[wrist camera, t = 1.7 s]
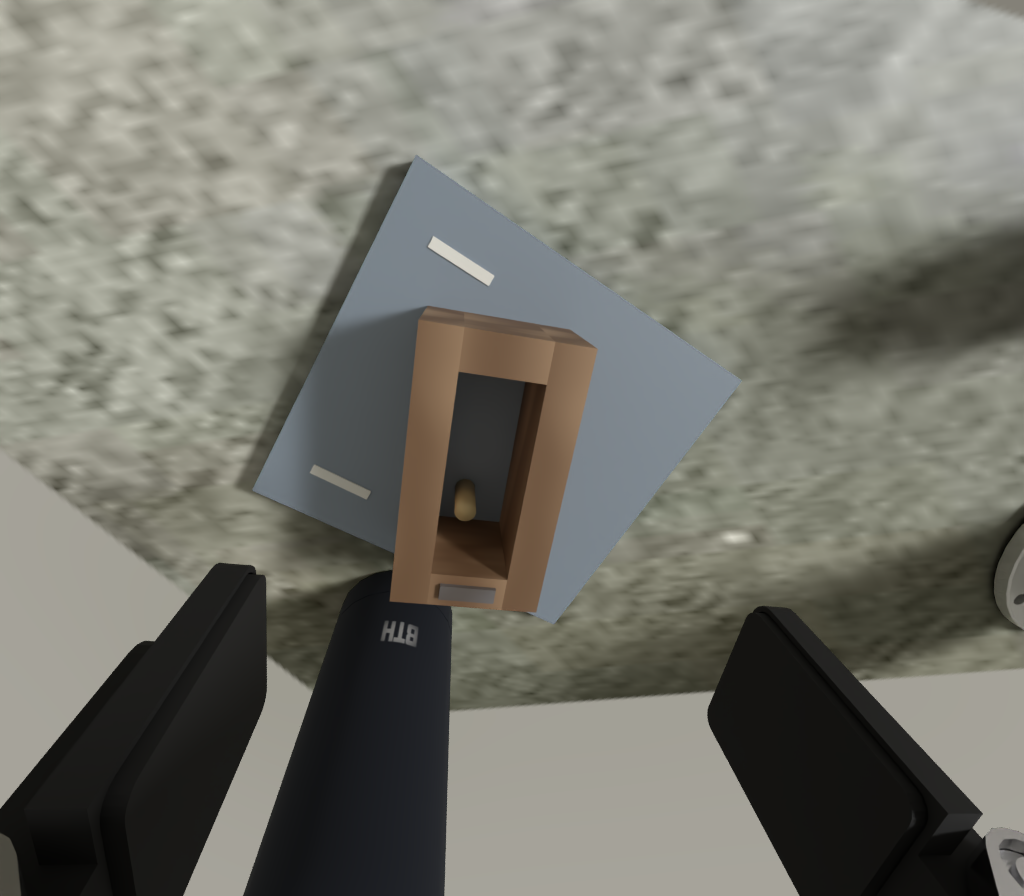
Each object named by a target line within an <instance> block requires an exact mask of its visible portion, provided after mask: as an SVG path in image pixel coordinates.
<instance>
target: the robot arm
mask: <svg viewBox="0 0 1024 896" xmlns="http://www.w3.org/2000/svg"><path fill="white" fill-rule="evenodd" d="M994 595H995V599H996V603H997V606H998V607H999V609H1000V611H1001V613H1002V614H1003V615H1004V616H1005V617H1006V618H1007V619H1008V620H1010V621H1011V622H1012V623H1014V624H1015V625H1017V626H1018V627H1020V628H1022V629H1023V630H1024V523H1023V524H1022V525H1021V527H1020V528H1019V529H1018V530H1017V531H1016V533H1015V534H1014V536H1013V537H1012V539H1011V540H1010V542H1009V543H1008V545H1007V546H1006V548H1005V550H1004V552H1003V554H1002V556H1001V558H1000V560H999V563H998V566H997V570H996V574H995V578H994ZM266 666H267V646H266V578H265V576H264V575H256V570H255V567H254V566H251V565H239V564H226V563H218V564H216V565H215V566H214V567H213V568H212V569H211V570H210V571H209V573H208V574H207V575H206V576H205V578H204V579H203V580H202V582H201V583H200V584H199V585H198V587H197V588H196V589H195V591H194V592H193V593H192V594H191V596H190V597H189V598H188V600H187V601H186V602H185V603H184V605H183V606H182V607H181V609H180V610H179V611H178V612H177V614H176V615H175V616H174V618H173V619H172V620H171V621H170V623H169V624H168V625H167V626H166V628H165V629H164V630H163V632H162V633H161V634H160V635H159V637H158V638H157V639H156V641H143V642H141V643H139V644H137V645H136V646H135V647H134V648H133V649H132V650H131V651H130V652H129V653H128V654H127V656H126V657H125V658H124V659H123V660H122V662H121V663H120V664H119V665H118V667H117V668H116V669H115V670H114V671H113V673H112V674H111V675H110V676H109V678H108V679H107V680H106V681H105V682H104V684H103V685H102V686H101V687H100V688H99V690H98V691H97V692H96V693H95V694H94V696H93V697H92V698H91V699H90V701H89V702H88V703H87V704H86V706H85V707H84V708H83V709H82V710H81V711H80V713H79V714H78V715H77V716H76V718H75V719H74V720H73V721H72V722H71V724H70V725H69V726H68V727H67V728H66V730H65V731H64V732H63V733H62V735H61V736H60V737H59V738H58V740H57V741H56V742H55V743H54V744H53V745H52V747H51V748H50V749H49V750H48V752H47V753H46V754H45V755H44V757H43V758H42V759H41V760H40V761H39V762H38V764H37V765H36V766H35V767H34V769H33V770H32V771H31V772H30V773H29V775H28V776H27V777H26V778H25V780H24V781H23V782H22V783H21V784H20V786H19V787H18V788H17V789H16V790H15V792H14V793H13V794H12V795H11V797H10V798H9V799H8V800H7V801H6V802H5V804H4V805H3V806H2V807H1V809H0V896H183V895H184V892H185V890H186V887H187V885H188V883H189V880H190V878H191V876H192V873H193V871H194V869H195V866H196V864H197V862H198V859H199V857H200V855H201V852H202V850H203V848H204V845H205V843H206V841H207V838H208V836H209V834H210V831H211V829H212V827H213V824H214V822H215V820H216V817H217V815H218V812H219V810H220V808H221V805H222V803H223V801H224V799H225V796H226V794H227V791H228V789H229V787H230V784H231V782H232V780H233V778H234V775H235V773H236V771H237V768H238V766H239V764H240V761H241V759H242V757H243V754H244V752H245V750H246V747H247V745H248V743H249V740H250V738H251V736H252V733H253V731H254V729H255V726H256V724H257V722H258V719H259V717H260V715H261V712H262V709H263V706H264V702H265V698H266V692H267V667H266ZM707 716H708V722H709V725H710V728H711V730H712V732H713V734H714V736H715V738H716V739H717V741H718V743H719V745H720V747H721V749H722V751H723V753H724V755H725V756H726V758H727V760H728V762H729V764H730V766H731V768H732V770H733V771H734V773H735V775H736V777H737V779H738V781H739V783H740V784H741V787H742V788H743V790H744V792H745V794H746V796H747V798H748V800H749V801H750V803H751V805H752V807H753V809H754V811H755V813H756V815H757V817H758V818H759V820H760V822H761V824H762V826H763V828H764V830H765V832H766V833H767V835H768V837H769V839H770V841H771V843H772V845H773V847H774V849H775V850H776V852H777V854H778V856H779V858H780V860H781V861H782V864H783V865H784V867H785V869H786V871H787V873H788V875H789V877H790V878H791V880H792V882H793V884H794V886H795V888H796V890H797V892H798V894H799V896H1024V834H1023V833H1021V832H1019V831H1015V830H1012V829H1008V828H1003V827H1001V828H992V829H991V830H990V831H989V832H988V833H987V834H986V835H985V836H984V838H983V839H982V838H981V837H980V836H979V835H978V834H977V833H976V831H975V830H974V829H973V828H972V827H973V826H974V825H975V823H976V822H977V821H978V819H979V818H980V817H981V815H982V814H983V813H982V812H981V811H980V810H979V809H978V808H977V807H976V806H975V805H974V804H973V803H972V802H971V801H970V799H969V798H968V797H967V796H966V795H965V794H964V793H963V792H962V791H961V790H960V789H959V788H958V787H957V786H956V785H955V784H954V782H953V781H952V780H951V779H950V778H949V777H948V776H947V775H946V774H945V773H944V772H943V771H942V770H941V768H940V767H938V765H937V764H935V762H934V761H933V760H932V759H931V758H930V757H929V756H928V755H927V754H926V752H925V751H924V750H923V749H922V748H921V747H920V746H919V745H918V744H917V743H916V742H915V741H914V740H913V739H912V738H911V736H909V734H908V733H907V732H906V731H905V730H904V729H903V728H902V727H901V726H900V725H899V724H898V723H897V721H896V720H895V719H894V718H893V717H892V716H891V715H890V714H889V713H888V712H887V711H886V710H885V709H884V708H883V707H882V706H881V705H880V703H879V702H878V701H877V700H876V699H875V698H874V697H873V696H872V695H871V694H870V693H869V692H868V691H867V689H866V688H865V687H864V686H863V685H862V684H861V683H860V682H859V681H858V680H857V679H856V678H855V677H854V676H853V675H852V673H851V672H850V671H849V670H848V669H847V668H846V667H845V666H844V665H843V664H842V663H841V662H840V661H839V660H838V658H837V657H836V656H835V655H834V654H833V653H832V652H831V651H830V650H829V649H828V648H827V647H826V646H825V645H824V644H823V642H822V641H821V640H820V639H819V638H818V637H817V636H816V635H815V634H814V633H813V632H812V631H811V630H810V629H809V628H808V626H807V625H806V624H805V623H804V622H803V621H802V620H801V619H800V618H799V617H798V616H797V615H796V614H795V613H794V612H793V611H792V610H791V609H788V608H782V607H769V606H759V607H757V608H756V609H755V610H754V611H753V613H750V614H749V615H748V616H747V618H746V620H745V622H744V624H743V627H742V629H741V631H740V634H739V636H738V638H737V641H736V643H735V646H734V648H733V650H732V653H731V655H730V657H729V660H728V662H727V664H726V667H725V669H724V672H723V674H722V676H721V679H720V681H719V683H718V686H717V688H716V690H715V693H714V695H713V698H712V700H711V703H710V705H709V707H708V715H707Z"/></svg>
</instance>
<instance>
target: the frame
mask: <svg viewBox="0 0 1024 896" xmlns="http://www.w3.org/2000/svg"><path fill="white" fill-rule="evenodd" d="M597 351H598V349H597V348H596V347H594V346H593V345H592V344H590V343H589V342H587V341H586V340H584V339H583V338H582V337H580V336H579V335H577V334H576V333H574V332H573V331H572V330H570V329H564V328H558V327H552V326H546V325H540V324H535V323H529V322H523V321H517V320H511V319H505V318H499V317H493V316H487V315H481V314H475V313H469V312H463V311H457V310H451V309H445V308H439V307H433V306H427V308H426V309H425V311H424V312H423V314H422V315H421V317H420V318H419V320H418V330H417V340H416V349H415V359H414V369H413V379H412V388H411V398H410V408H409V417H408V427H407V437H406V447H405V456H404V466H403V476H402V486H401V495H400V505H399V515H398V524H397V534H396V544H395V554H394V563H393V573H392V583H391V593H390V601H392V602H405V603H418V604H431V605H444V606H457V607H470V608H483V609H496V610H509V611H522V612H535V613H536V611H537V607H538V603H539V598H540V594H541V590H542V586H543V581H544V577H545V573H546V569H547V564H548V560H549V556H550V551H551V547H552V543H553V539H554V534H555V530H556V526H557V521H558V517H559V513H560V509H561V504H562V500H563V496H564V492H565V487H566V483H567V479H568V474H569V470H570V466H571V462H572V457H573V453H574V449H575V445H576V440H577V436H578V432H579V427H580V423H581V419H582V415H583V410H584V406H585V402H586V398H587V393H588V389H589V385H590V380H591V376H592V372H593V368H594V363H595V359H596V355H597ZM458 372H464V373H471V374H478V375H484V376H491V377H498V378H504V379H511V380H518V381H525V387H524V392H523V397H522V403H521V408H520V413H519V419H518V424H517V430H516V435H515V440H514V446H513V451H512V456H511V462H510V467H509V473H508V478H507V483H506V489H505V494H504V499H503V505H502V510H501V515H500V521H499V522H494V521H485V520H475V519H471V520H469V521H461V520H459V519H458V518H456V517H446V516H439V512H440V504H441V497H442V490H443V482H444V475H445V468H446V460H447V453H448V445H449V438H450V431H451V423H452V416H453V409H454V401H455V394H456V387H457V379H458Z"/></svg>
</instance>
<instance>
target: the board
mask: <svg viewBox="0 0 1024 896" xmlns="http://www.w3.org/2000/svg"><path fill="white" fill-rule="evenodd" d="M427 306H433V307H439V308H445V309H451V310H457V311H463V312H469V313H475V314H481V315H487V316H493V317H499V318H505V319H511V320H517V321H523V322H529V323H535V324H540V325H546V326H552V327H558V328H564V329H570V330H572V331H573V332H574V333H576V334H577V335H579V336H580V337H582V338H583V339H584V340H586V341H587V342H589V343H590V344H592V345H593V346H594V347H596V348H597V349H598V351H597V355H596V359H595V363H594V368H593V372H592V376H591V380H590V385H589V389H588V393H587V398H586V402H585V406H584V410H583V415H582V419H581V423H580V427H579V432H578V436H577V440H576V445H575V449H574V453H573V457H572V462H571V466H570V470H569V474H568V479H567V483H566V487H565V492H564V496H563V500H562V504H561V509H560V513H559V517H558V521H557V526H556V530H555V534H554V539H553V543H552V547H551V551H550V556H549V560H548V564H547V569H546V573H545V577H544V581H543V586H542V590H541V594H540V598H539V603H538V607H537V611H536V613H535V612H527V613H530V614H532V615H534V616H536V617H539V618H541V619H543V620H545V621H548V622H550V623H552V624H555V622H556V621H557V620H558V618H559V617H560V616H561V615H562V613H563V612H564V611H565V609H566V608H567V607H568V606H569V604H570V603H571V602H572V600H573V599H574V598H575V596H576V595H577V594H578V593H579V591H580V590H581V589H582V587H583V586H584V585H585V583H586V582H587V581H588V580H589V578H590V577H591V576H592V574H593V573H594V572H595V571H596V569H597V568H598V567H599V565H600V564H601V563H602V561H603V560H604V559H605V558H606V556H607V555H608V554H609V552H610V551H611V550H612V549H613V547H614V546H615V545H616V543H617V542H618V541H619V539H620V538H621V537H622V536H623V534H624V533H625V532H626V530H627V529H628V528H629V526H630V525H631V524H632V523H633V521H634V520H635V519H636V517H637V516H638V515H639V514H640V512H641V511H642V510H643V508H644V507H645V506H646V504H647V503H648V502H649V501H650V499H651V498H652V497H653V495H654V494H655V493H656V491H657V490H658V489H659V488H660V486H661V485H662V484H663V482H664V481H665V480H666V479H667V477H668V476H669V475H670V473H671V472H672V471H673V469H674V468H675V467H676V466H677V464H678V463H679V462H680V460H681V459H682V458H683V457H684V455H685V454H686V453H687V451H688V450H689V449H690V447H691V446H692V445H693V444H694V442H695V441H696V440H697V438H698V437H699V436H700V434H701V433H702V432H703V431H704V429H705V428H706V427H707V425H708V424H709V423H710V422H711V420H712V419H713V418H714V416H715V415H716V414H717V412H718V411H719V410H720V409H721V407H722V406H723V405H724V403H725V402H726V401H727V400H728V398H729V397H730V396H731V394H732V393H733V392H734V390H735V389H736V388H737V387H738V385H739V384H740V383H741V381H742V380H740V379H739V378H737V377H736V376H734V375H733V374H732V373H730V372H729V371H727V370H726V369H724V368H723V367H722V366H720V365H719V364H717V363H716V362H714V361H713V360H711V359H710V358H709V357H707V356H706V355H704V354H703V353H701V352H700V351H698V350H697V349H696V348H694V347H693V346H691V345H690V344H688V343H687V342H685V341H684V340H683V339H681V338H680V337H678V336H677V335H675V334H674V333H673V332H671V331H670V330H668V329H667V328H665V327H664V326H662V325H661V324H660V323H658V322H657V321H655V320H654V319H652V318H651V317H649V316H648V315H647V314H645V313H644V312H642V311H641V310H639V309H638V308H636V307H635V306H634V305H632V304H631V303H629V302H628V301H626V300H625V299H624V298H622V297H621V296H619V295H618V294H616V293H615V292H613V291H612V290H611V289H609V288H608V287H606V286H605V285H603V284H602V283H600V282H599V281H598V280H596V279H595V278H593V277H592V276H590V275H589V274H587V273H586V272H585V271H583V270H582V269H580V268H579V267H577V266H576V265H575V264H573V263H572V262H570V261H569V260H567V259H566V258H564V257H563V256H562V255H560V254H559V253H557V252H556V251H554V250H553V249H551V248H550V247H549V246H547V245H546V244H544V243H543V242H541V241H540V240H538V239H537V238H536V237H534V236H533V235H531V234H530V233H528V232H527V231H526V230H524V229H523V228H521V227H520V226H518V225H517V224H515V223H514V222H513V221H511V220H510V219H508V218H507V217H505V216H504V215H502V214H501V213H500V212H498V211H497V210H495V209H494V208H492V207H491V206H490V205H488V204H487V203H485V202H484V201H482V200H481V199H479V198H478V197H477V196H475V195H474V194H472V193H471V192H469V191H468V190H466V189H465V188H464V187H462V186H461V185H459V184H458V183H456V182H455V181H453V180H452V179H451V178H449V177H448V176H446V175H445V174H443V173H442V172H441V171H439V170H438V169H436V168H435V167H433V166H432V165H430V164H429V163H428V162H426V161H425V160H423V159H422V158H420V157H419V156H417V155H416V156H415V158H414V160H413V162H412V164H411V166H410V168H409V170H408V172H407V174H406V176H405V178H404V181H403V183H402V185H401V187H400V189H399V191H398V193H397V195H396V197H395V199H394V201H393V203H392V205H391V207H390V209H389V211H388V213H387V215H386V217H385V219H384V221H383V223H382V226H381V228H380V230H379V232H378V234H377V236H376V238H375V240H374V242H373V244H372V246H371V248H370V250H369V252H368V254H367V256H366V258H365V260H364V262H363V264H362V266H361V268H360V271H359V273H358V275H357V277H356V279H355V281H354V283H353V285H352V287H351V289H350V291H349V293H348V295H347V297H346V299H345V301H344V303H343V305H342V307H341V309H340V311H339V313H338V316H337V318H336V320H335V322H334V324H333V326H332V328H331V330H330V332H329V334H328V336H327V338H326V340H325V342H324V344H323V346H322V348H321V350H320V352H319V354H318V356H317V358H316V361H315V363H314V365H313V367H312V369H311V371H310V373H309V375H308V377H307V379H306V381H305V383H304V385H303V387H302V389H301V391H300V393H299V395H298V397H297V399H296V401H295V403H294V405H293V408H292V410H291V412H290V414H289V416H288V418H287V420H286V422H285V424H284V426H283V428H282V430H281V432H280V434H279V436H278V438H277V440H276V442H275V444H274V446H273V448H272V450H271V453H270V455H269V457H268V459H267V461H266V463H265V465H264V467H263V469H262V471H261V473H260V475H259V477H258V479H257V481H256V483H255V485H254V487H253V489H252V491H254V492H256V493H259V494H261V495H263V496H265V497H268V498H270V499H272V500H274V501H277V502H279V503H281V504H283V505H286V506H288V507H290V508H293V509H295V510H297V511H299V512H302V513H304V514H306V515H308V516H311V517H313V518H315V519H317V520H320V521H322V522H324V523H326V524H329V525H331V526H333V527H335V528H338V529H340V530H342V531H344V532H347V533H349V534H351V535H353V536H356V537H358V538H360V539H362V540H365V541H367V542H369V543H372V544H374V545H376V546H378V547H381V548H383V549H385V550H387V551H390V552H392V553H394V554H395V544H396V534H397V524H398V515H399V505H400V495H401V486H402V476H403V466H404V456H405V447H406V437H407V427H408V417H409V408H410V398H411V388H412V379H413V369H414V359H415V349H416V340H417V330H418V320H419V318H420V317H421V315H422V314H423V312H424V311H425V309H426V308H427ZM524 387H525V381H518V380H511V379H504V378H498V377H491V376H484V375H478V374H471V373H464V372H458V379H457V387H456V394H455V401H454V409H453V416H452V423H451V431H450V438H449V445H448V453H447V460H446V468H445V475H444V482H443V490H442V497H441V504H440V512H439V516H446V517H456V518H458V519H459V520H461V521H469V520H471V519H475V520H485V521H494V522H499V521H500V515H501V510H502V505H503V499H504V494H505V489H506V483H507V478H508V473H509V467H510V462H511V456H512V451H513V446H514V440H515V435H516V430H517V424H518V419H519V413H520V408H521V403H522V397H523V392H524Z"/></svg>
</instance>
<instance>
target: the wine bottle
mask: <svg viewBox="0 0 1024 896" xmlns="http://www.w3.org/2000/svg"><path fill="white" fill-rule="evenodd" d="M392 573H393V571H387V572H382V573H376V574H374V575H372V576H370V577H368V578H366V579H364V580H362V581H360V582H359V583H358V584H357V585H356V586H355V587H354V588H353V589H352V590H351V591H350V592H349V593H348V595H347V597H346V599H345V601H344V603H343V605H342V608H341V611H340V614H339V617H338V620H337V623H336V626H335V629H334V632H333V635H332V638H331V640H330V643H329V646H328V649H327V652H326V655H325V658H324V661H323V664H322V667H321V670H320V673H319V676H318V678H317V681H316V684H315V687H314V690H313V693H312V696H311V699H310V702H309V705H308V708H307V711H306V714H305V717H304V720H303V723H302V725H301V728H300V731H299V734H298V737H297V740H296V743H295V746H294V749H293V752H292V755H291V757H290V760H289V763H288V766H287V769H286V772H285V775H284V778H283V781H282V784H281V787H280V790H279V793H278V795H277V799H276V801H275V805H274V807H273V810H272V813H271V816H270V819H269V822H268V825H267V828H266V831H265V834H264V836H263V839H262V842H261V845H260V848H259V851H258V854H257V857H256V860H255V863H254V866H253V869H252V872H251V874H250V877H249V880H248V883H247V886H246V889H245V892H244V895H243V896H444V886H445V885H444V884H445V851H446V815H447V814H446V812H447V780H448V745H449V710H450V675H451V639H452V636H451V635H452V610H451V606H444V605H431V604H418V603H405V602H392V601H390V593H391V583H392Z"/></svg>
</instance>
